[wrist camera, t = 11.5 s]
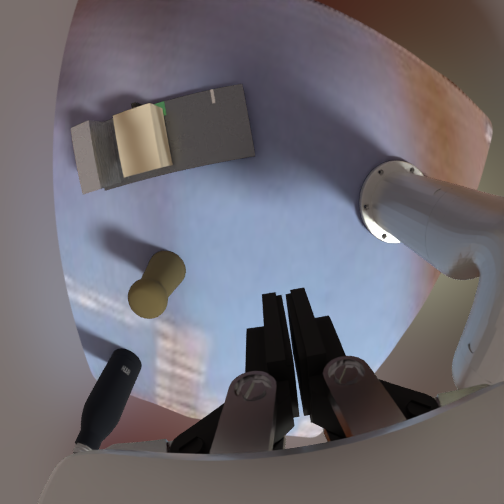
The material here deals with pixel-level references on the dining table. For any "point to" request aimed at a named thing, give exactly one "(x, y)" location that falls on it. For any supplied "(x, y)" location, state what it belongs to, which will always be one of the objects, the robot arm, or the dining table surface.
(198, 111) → the gauge rail
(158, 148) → the block
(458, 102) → the dining table surface
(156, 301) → the olive brown pawn
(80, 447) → the black water bottle
